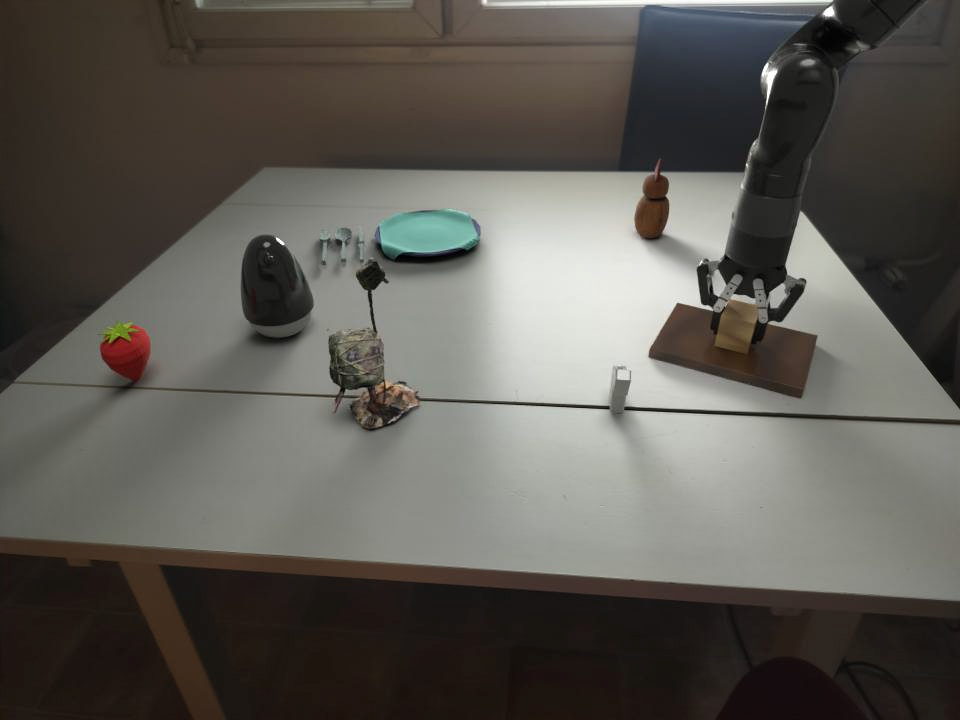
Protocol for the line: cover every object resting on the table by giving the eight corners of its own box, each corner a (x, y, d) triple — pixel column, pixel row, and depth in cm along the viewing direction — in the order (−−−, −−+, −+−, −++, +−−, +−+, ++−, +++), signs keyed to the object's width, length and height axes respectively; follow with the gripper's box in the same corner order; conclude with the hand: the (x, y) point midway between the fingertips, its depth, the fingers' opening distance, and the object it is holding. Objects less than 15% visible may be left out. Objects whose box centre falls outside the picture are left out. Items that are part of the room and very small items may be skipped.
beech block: (754, 336, 94) (762, 306, 91) (747, 354, 91) (755, 323, 88) (722, 328, 96) (729, 298, 93) (714, 346, 92) (721, 315, 89)
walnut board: (815, 344, 95) (817, 335, 94) (800, 398, 85) (804, 389, 84) (675, 310, 103) (677, 302, 102) (648, 357, 93) (649, 348, 92)
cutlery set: (489, 258, 119) (489, 247, 117) (319, 274, 115) (316, 262, 114) (472, 214, 135) (472, 204, 133) (321, 227, 131) (320, 216, 130)
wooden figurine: (658, 244, 122) (670, 163, 113) (628, 238, 124) (637, 158, 116) (669, 230, 127) (681, 152, 118) (640, 224, 129) (650, 147, 120)
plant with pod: (327, 400, 87) (300, 262, 75) (411, 381, 90) (397, 245, 78) (338, 440, 80) (310, 296, 69) (428, 418, 83) (416, 276, 72)
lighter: (609, 391, 87) (615, 341, 82) (623, 392, 87) (629, 342, 82) (609, 427, 81) (616, 375, 77) (624, 428, 81) (631, 376, 76)
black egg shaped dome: (253, 354, 96) (227, 258, 87) (245, 319, 104) (221, 228, 95) (323, 338, 99) (306, 244, 90) (311, 305, 106) (294, 216, 98)
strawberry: (166, 360, 95) (144, 300, 89) (155, 393, 89) (131, 329, 83) (122, 366, 94) (97, 305, 88) (108, 399, 88) (80, 335, 82)
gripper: (829, 222, 83) (793, 336, 93) (712, 202, 88) (691, 312, 98) (821, 245, 77) (785, 364, 87) (698, 222, 83) (677, 337, 93)
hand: (735, 336), depth 93 cm, fingers closed on beech block, 4 cm apart
